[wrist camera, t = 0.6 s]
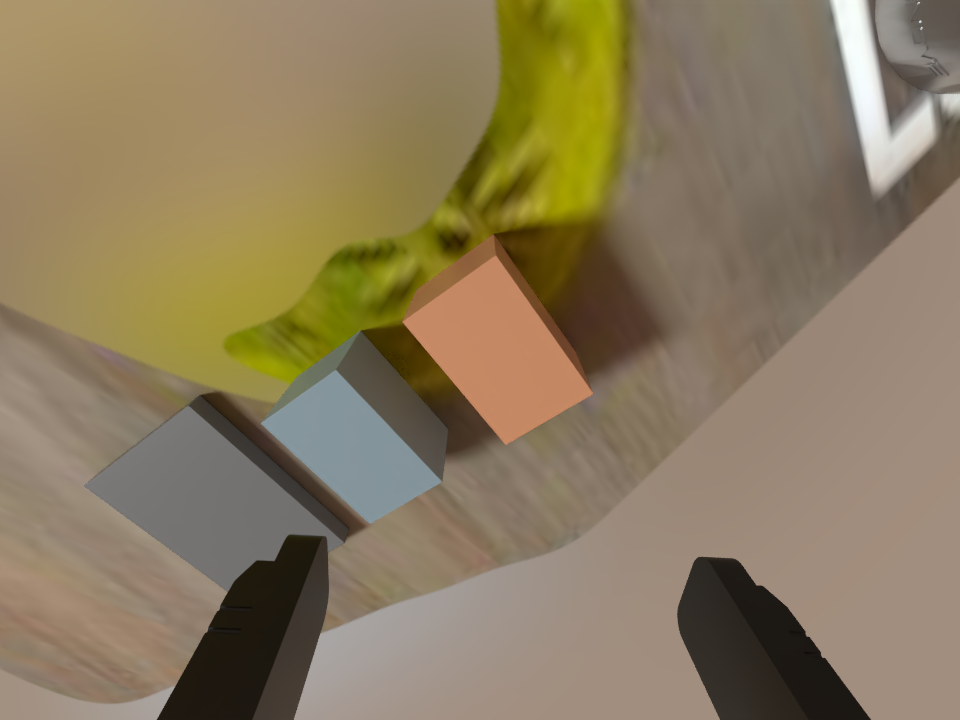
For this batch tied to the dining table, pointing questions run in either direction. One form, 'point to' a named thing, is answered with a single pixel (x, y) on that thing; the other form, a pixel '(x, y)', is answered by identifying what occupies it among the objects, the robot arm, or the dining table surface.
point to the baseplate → (212, 495)
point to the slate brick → (361, 429)
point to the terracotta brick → (497, 342)
